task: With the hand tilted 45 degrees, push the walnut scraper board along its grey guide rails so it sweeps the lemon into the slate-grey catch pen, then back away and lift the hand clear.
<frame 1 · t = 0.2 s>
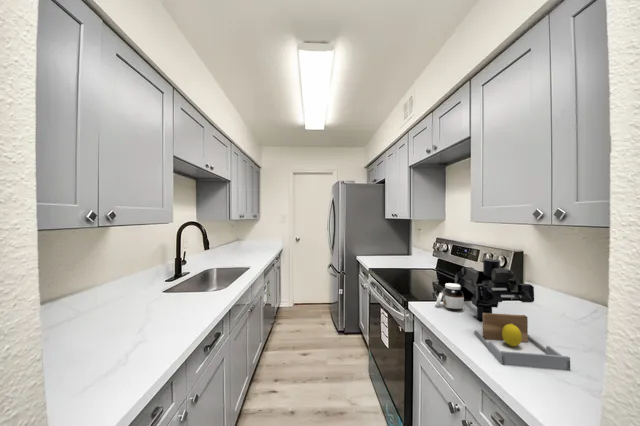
hand: (516, 300, 90), 16 cm above the counter, tool horizontal, fingers open, 9 cm apart
catch pen: (526, 360, 83), on the counter
spread jar: (448, 308, 129), on the counter
scraper board: (504, 327, 96), point 5 cm above the counter, slide at 0.0 cm
lemon: (511, 347, 91), on the counter
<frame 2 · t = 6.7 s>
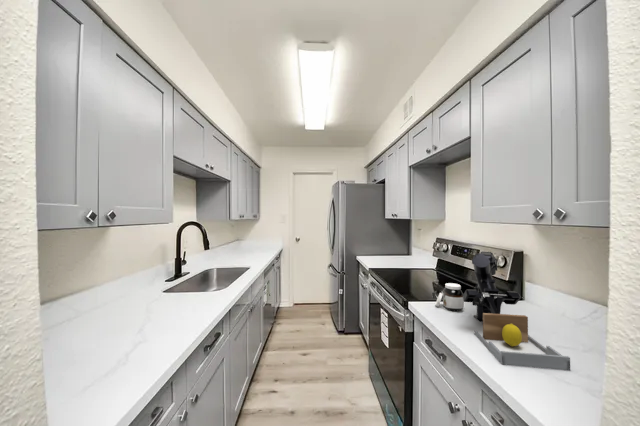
hand: (498, 318, 97), 8 cm above the counter, tool tilted 45°, fingers closed, pressing on scraper board
scraper board: (504, 327, 96), point 5 cm above the counter, slide at 0.2 cm, touching gripper
everything else where it was.
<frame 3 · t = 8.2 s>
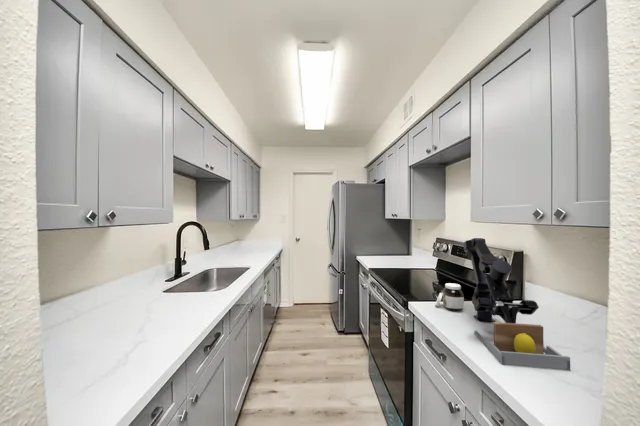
hand: (513, 329, 89), 7 cm above the counter, tool tilted 45°, fingers closed, pressing on scraper board
scraper board: (517, 338, 87), point 5 cm above the counter, slide at 8.5 cm, touching gripper, lemon
lemon: (524, 358, 84), on the counter, touching scraper board
everything else where it was.
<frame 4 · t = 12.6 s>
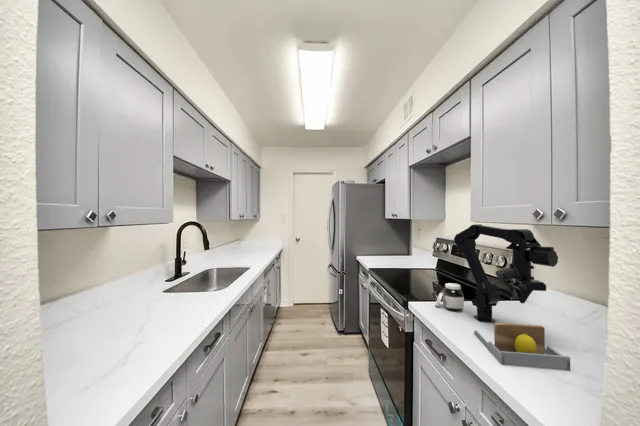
hand: (522, 303, 100), 12 cm above the counter, tool pointing down, fingers closed
scraper board: (519, 338, 87), point 5 cm above the counter, slide at 9.2 cm, touching lemon
at the end: lemon inside the target area on the catch pen (0.5 cm from its centre), point 0.0 cm above the catch pen's base; scraper board slide at 9.2 cm; the gripper is holding nothing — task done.
